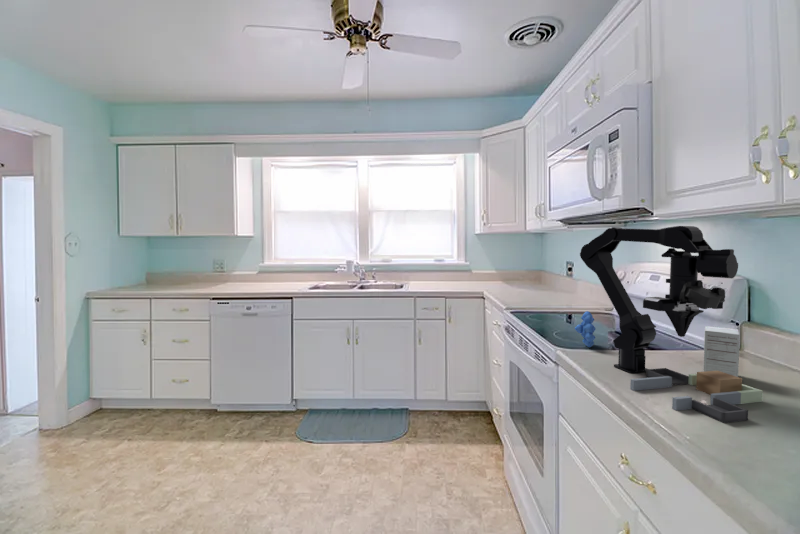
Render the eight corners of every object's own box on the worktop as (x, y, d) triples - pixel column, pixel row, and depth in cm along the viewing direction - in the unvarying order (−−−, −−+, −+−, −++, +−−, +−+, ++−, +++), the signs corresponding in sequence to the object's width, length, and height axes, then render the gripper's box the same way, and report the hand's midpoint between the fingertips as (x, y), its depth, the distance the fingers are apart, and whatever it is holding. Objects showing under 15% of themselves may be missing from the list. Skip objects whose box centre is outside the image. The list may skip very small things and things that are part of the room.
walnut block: (696, 390, 99) (696, 372, 99) (717, 388, 100) (717, 370, 100) (719, 399, 93) (720, 380, 93) (741, 397, 94) (742, 378, 94)
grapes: (571, 341, 148) (572, 308, 147) (591, 342, 146) (592, 309, 145) (576, 349, 136) (577, 314, 136) (598, 350, 135) (599, 315, 134)
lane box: (610, 379, 106) (610, 370, 106) (683, 373, 111) (684, 364, 111) (706, 424, 80) (707, 412, 80) (798, 414, 84) (798, 402, 84)
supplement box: (703, 369, 114) (705, 325, 113) (737, 375, 109) (739, 329, 109) (702, 376, 108) (704, 330, 108) (738, 382, 104) (740, 333, 103)
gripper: (680, 279, 93) (677, 346, 94) (746, 277, 96) (743, 342, 97) (642, 275, 103) (640, 335, 104) (703, 273, 107) (700, 332, 108)
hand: (681, 336), depth 103 cm, fingers closed
